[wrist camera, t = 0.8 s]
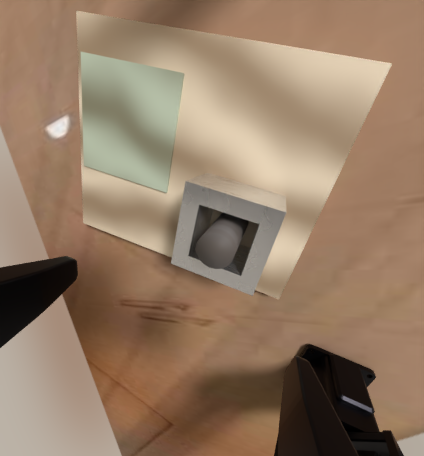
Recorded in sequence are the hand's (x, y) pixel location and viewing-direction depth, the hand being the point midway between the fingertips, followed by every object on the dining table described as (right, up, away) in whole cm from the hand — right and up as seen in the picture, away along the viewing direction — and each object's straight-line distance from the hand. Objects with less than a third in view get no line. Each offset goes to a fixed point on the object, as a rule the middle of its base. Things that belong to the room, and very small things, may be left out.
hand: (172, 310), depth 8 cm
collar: (+3, +4, +10) cm, 11 cm away
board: (0, +9, +11) cm, 14 cm away
